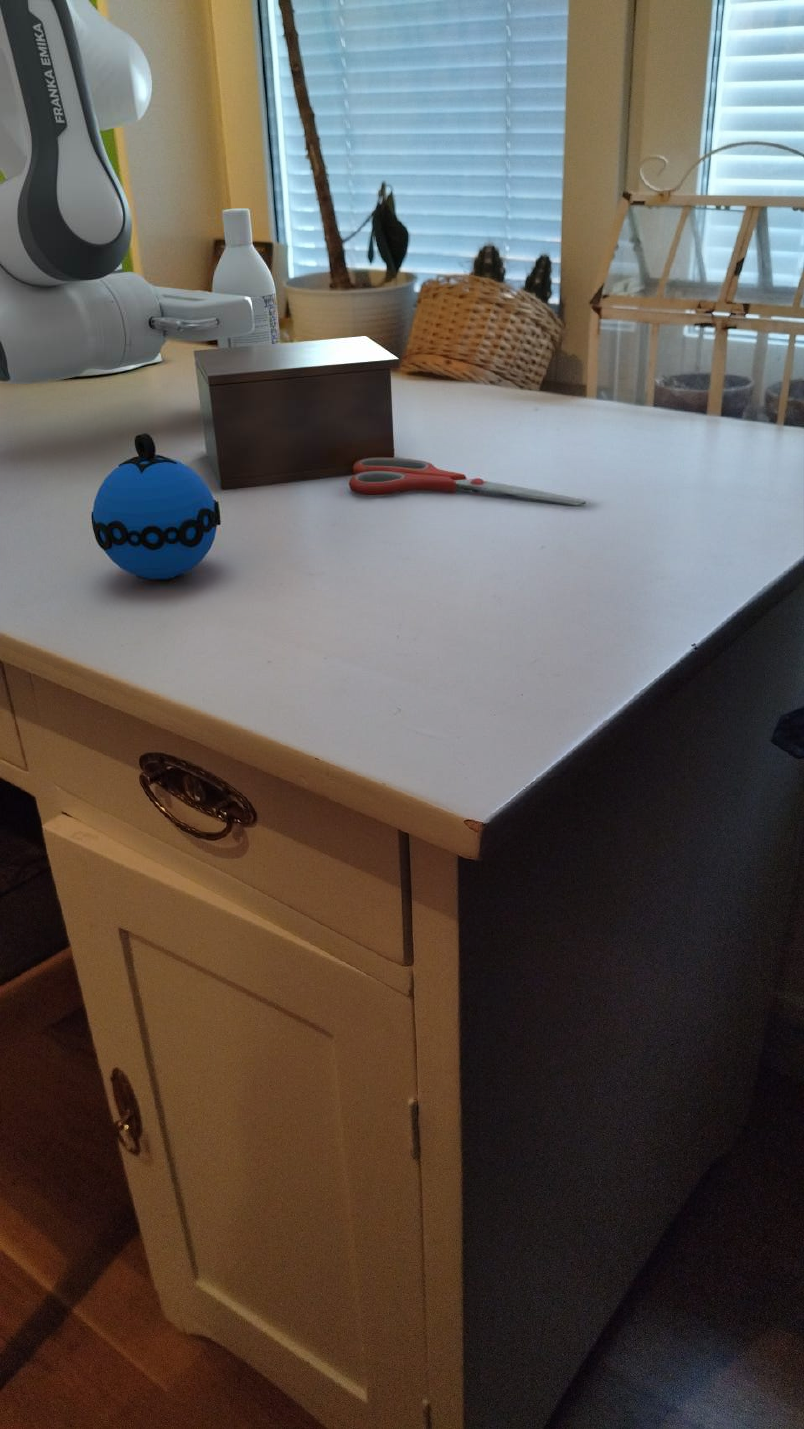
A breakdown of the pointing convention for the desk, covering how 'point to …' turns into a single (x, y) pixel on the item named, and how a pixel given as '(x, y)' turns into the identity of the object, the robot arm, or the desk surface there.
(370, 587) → the desk surface
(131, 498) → the ornament
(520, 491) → the scissors
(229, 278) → the bath foam
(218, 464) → the chest
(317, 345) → the lid
